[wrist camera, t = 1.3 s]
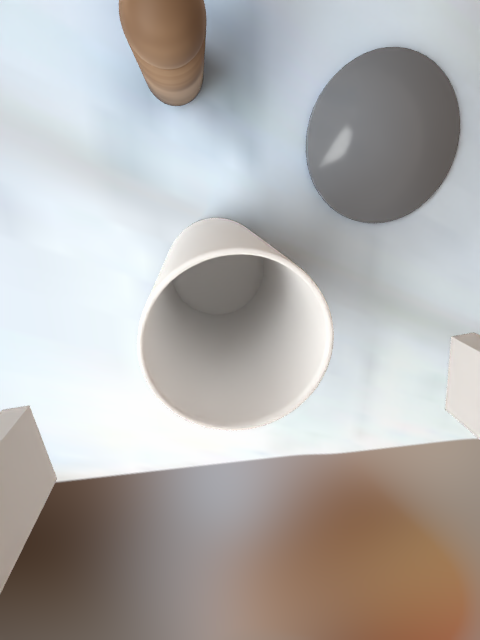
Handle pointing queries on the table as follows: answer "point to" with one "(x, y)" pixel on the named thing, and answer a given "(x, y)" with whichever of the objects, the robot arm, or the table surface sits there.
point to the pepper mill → (167, 45)
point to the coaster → (383, 135)
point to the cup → (232, 329)
